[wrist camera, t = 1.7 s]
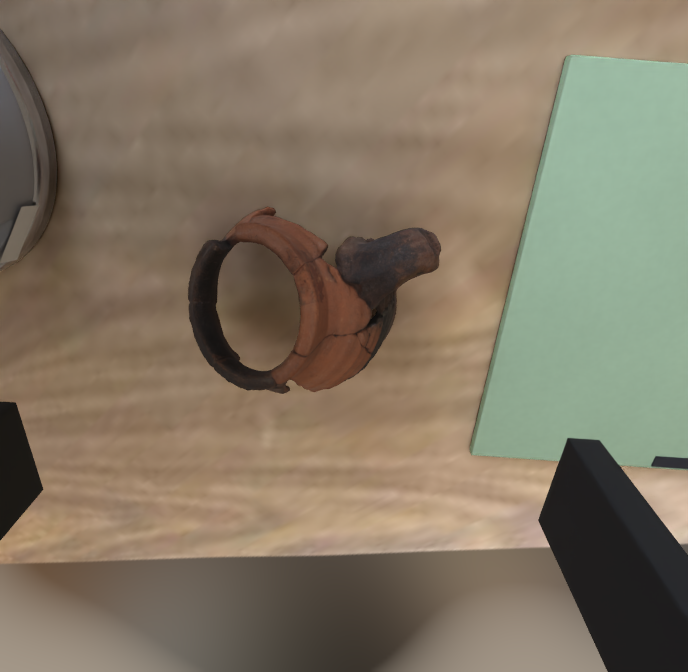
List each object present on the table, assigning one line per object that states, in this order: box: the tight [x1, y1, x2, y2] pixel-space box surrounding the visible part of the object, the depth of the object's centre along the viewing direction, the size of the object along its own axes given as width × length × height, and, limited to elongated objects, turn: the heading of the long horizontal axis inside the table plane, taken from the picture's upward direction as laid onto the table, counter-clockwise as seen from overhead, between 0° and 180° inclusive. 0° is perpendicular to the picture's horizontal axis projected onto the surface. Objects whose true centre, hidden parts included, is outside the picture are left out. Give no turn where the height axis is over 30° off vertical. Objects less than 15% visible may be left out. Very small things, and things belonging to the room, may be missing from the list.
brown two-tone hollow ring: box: [188, 207, 441, 394], centre depth 22 cm, size 12×10×8 cm
